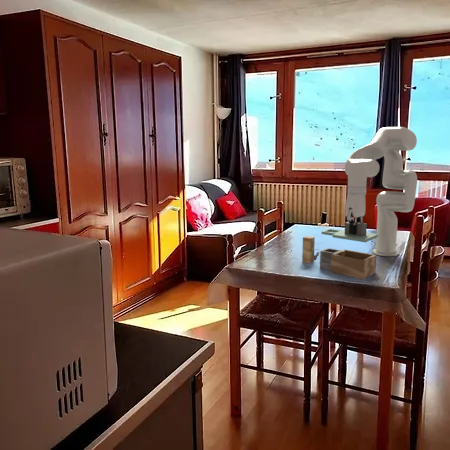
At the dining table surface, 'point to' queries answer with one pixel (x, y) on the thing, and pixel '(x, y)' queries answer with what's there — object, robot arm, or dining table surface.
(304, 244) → the tan wooden block
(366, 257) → the toolbox
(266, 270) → the dining table surface
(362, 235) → the lid
